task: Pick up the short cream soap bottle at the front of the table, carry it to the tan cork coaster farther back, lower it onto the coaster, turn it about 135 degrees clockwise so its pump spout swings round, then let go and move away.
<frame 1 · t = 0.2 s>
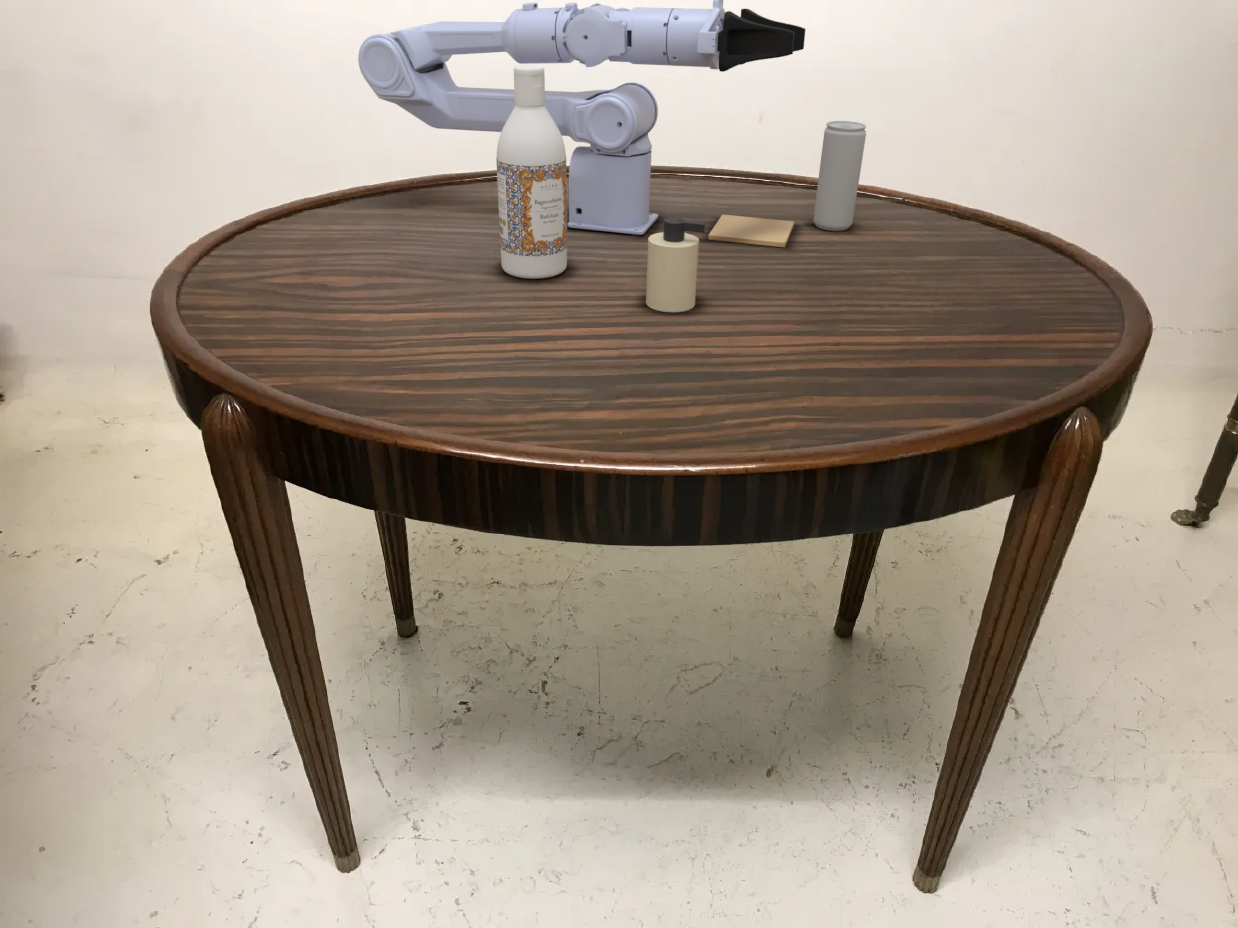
hand: (799, 41, 98), 22 cm above the table, tool horizontal, fingers open, 7 cm apart
coaster: (752, 232, 112), on the table
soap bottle: (670, 303, 91), on the table
beverage can: (831, 228, 115), on the table
bath foam: (534, 271, 99), on the table
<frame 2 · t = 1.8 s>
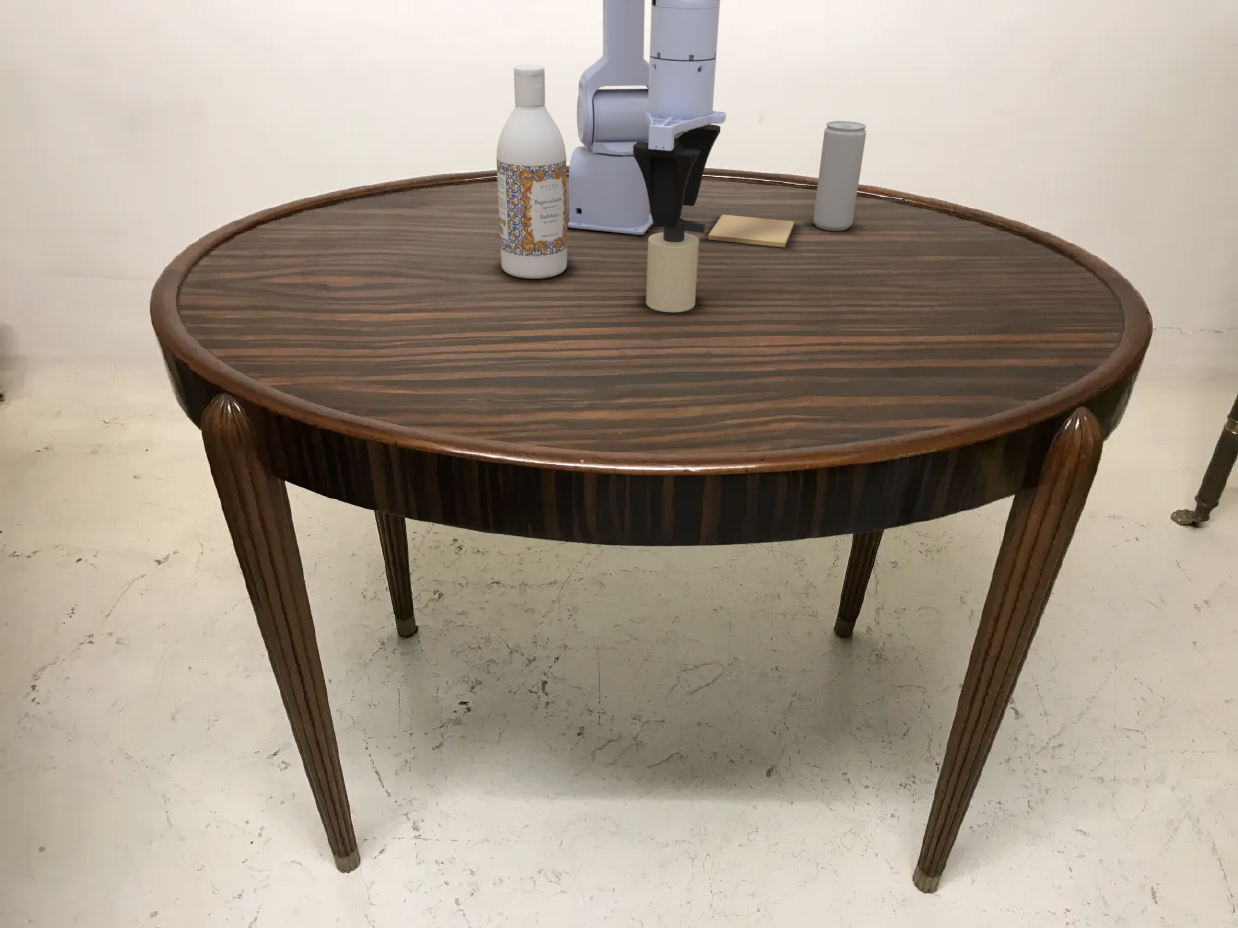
hand: (674, 215, 87), 9 cm above the table, tool pointing down, fingers open, 7 cm apart
nothing on the table moved.
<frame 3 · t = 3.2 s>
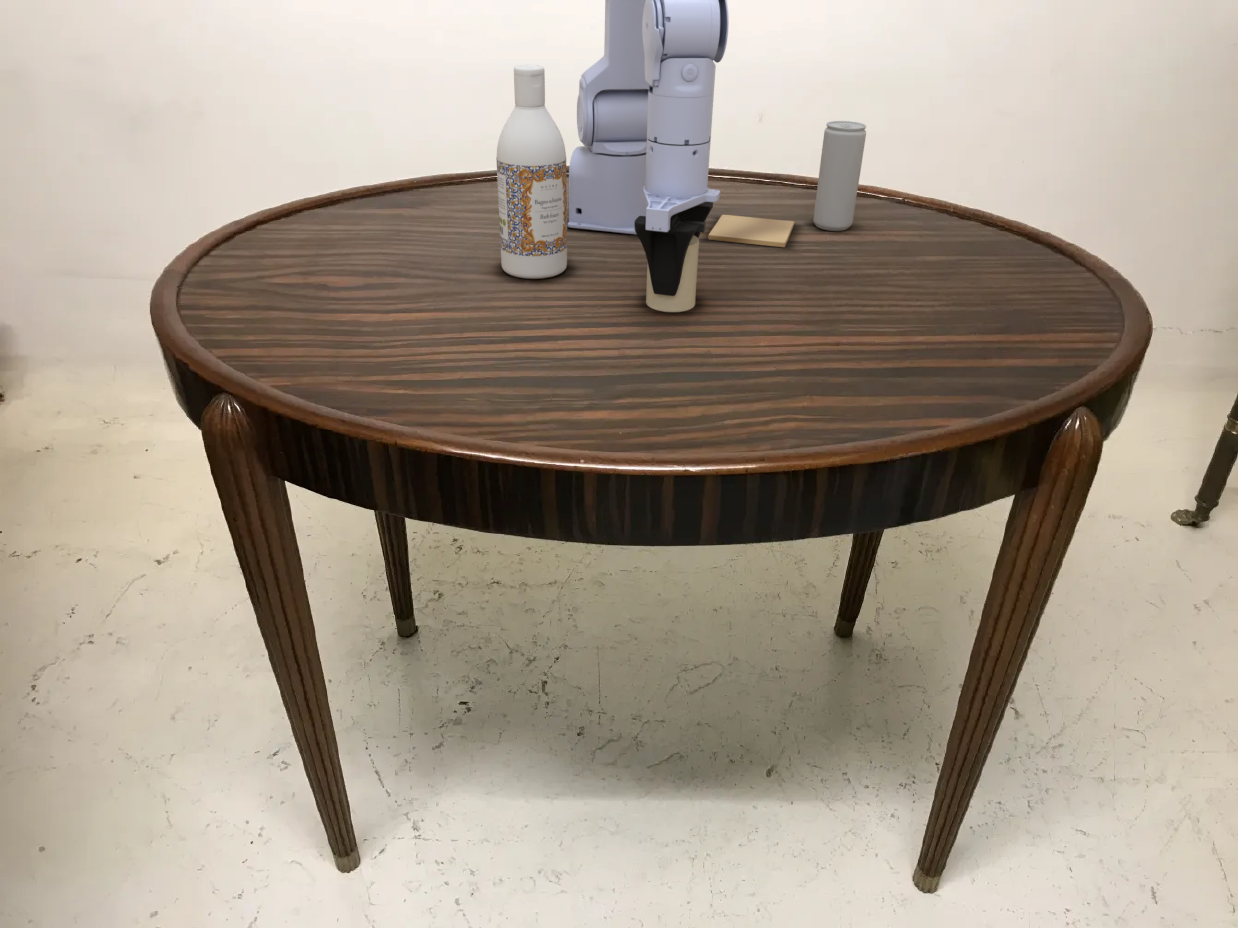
hand: (671, 284, 90), 2 cm above the table, tool pointing down, fingers closed on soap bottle, 5 cm apart
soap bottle: (670, 303, 91), on the table, touching gripper
everything else where it was.
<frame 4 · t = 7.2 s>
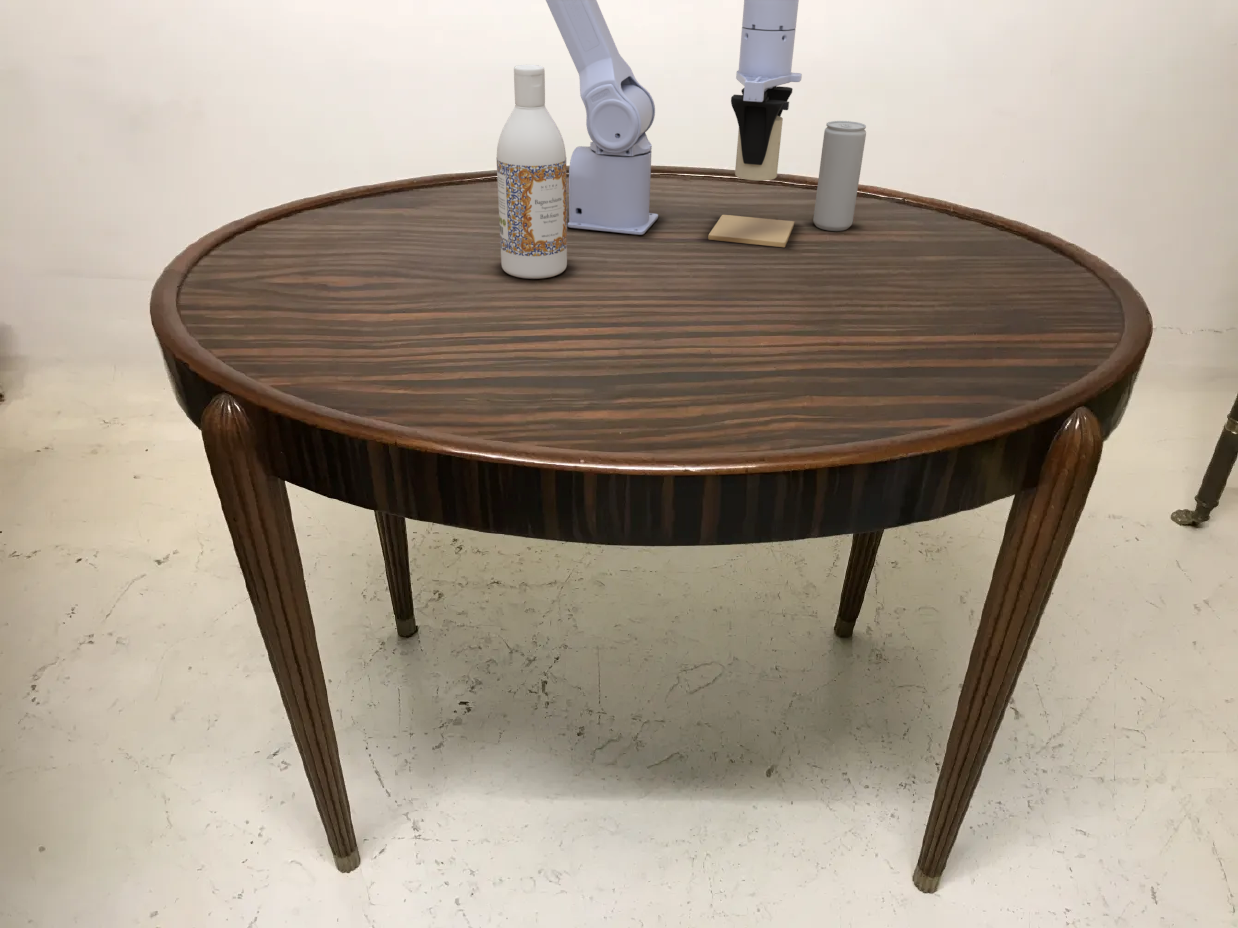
hand: (756, 158, 106), 9 cm above the table, tool pointing down, fingers closed on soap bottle, 5 cm apart
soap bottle: (755, 175, 107), point 7 cm above the table, touching gripper
everything else where it was.
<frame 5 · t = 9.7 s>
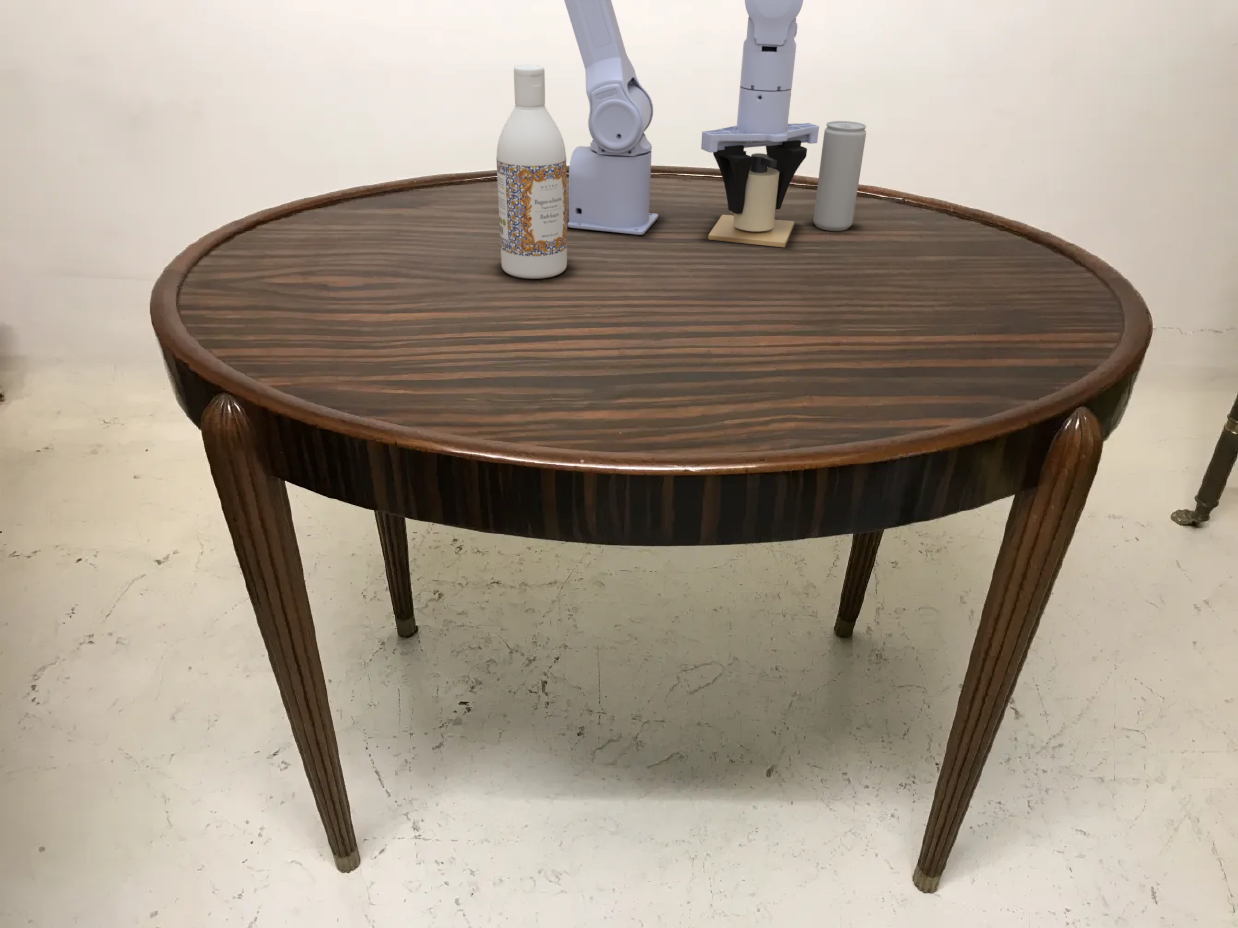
hand: (754, 209, 110), 3 cm above the table, tool pointing down, fingers closed on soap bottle, 5 cm apart
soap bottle: (753, 225, 111), point 1 cm above the table, touching gripper
everything else where it was.
when the fingers open (2 cm above the table, at t = 11.4 s): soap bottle stays where it is, resting on coaster.
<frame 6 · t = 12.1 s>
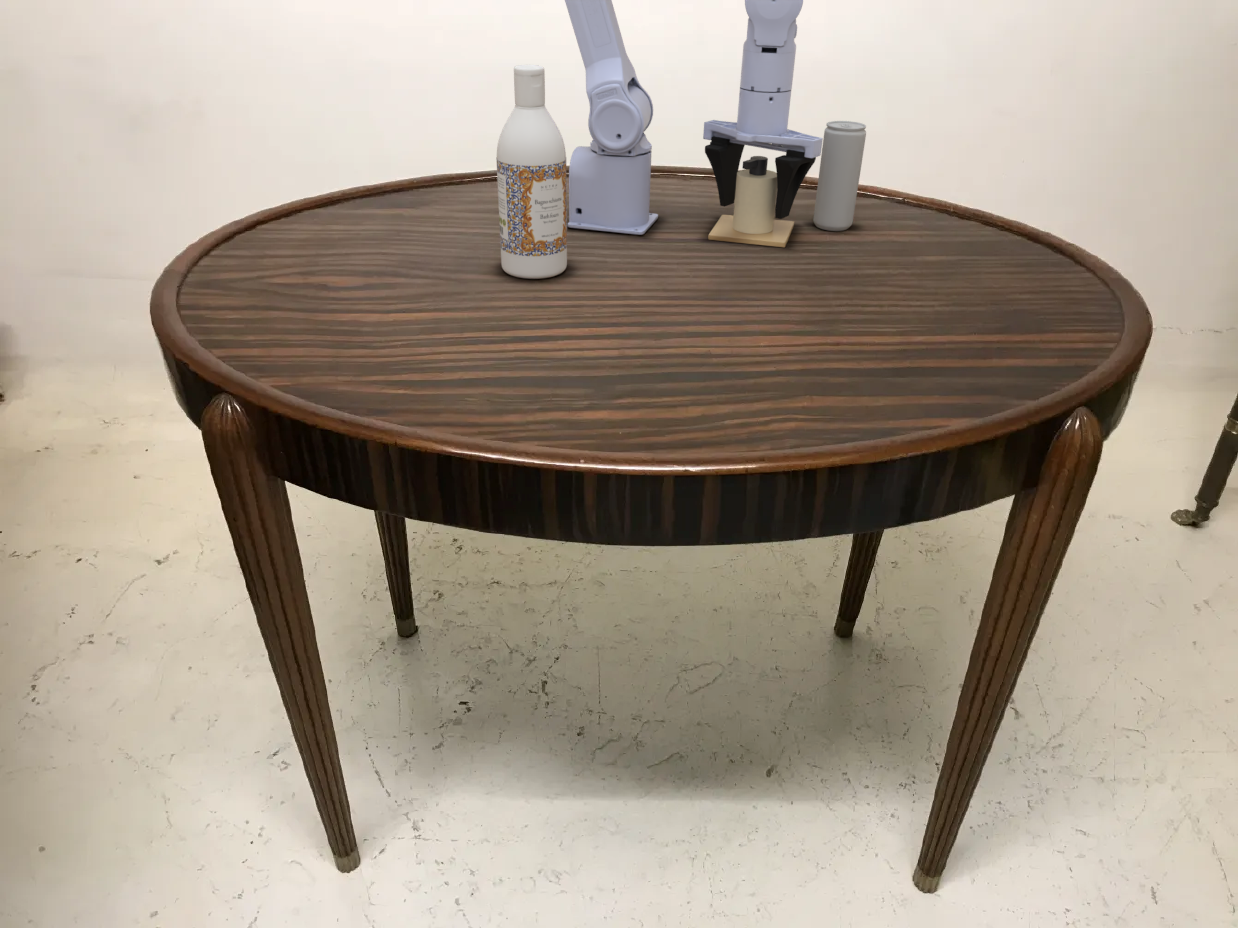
hand: (754, 210, 110), 3 cm above the table, tool pointing down, fingers open, 7 cm apart
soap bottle: (752, 228, 111), point 1 cm above the table, touching coaster
everything else where it was.
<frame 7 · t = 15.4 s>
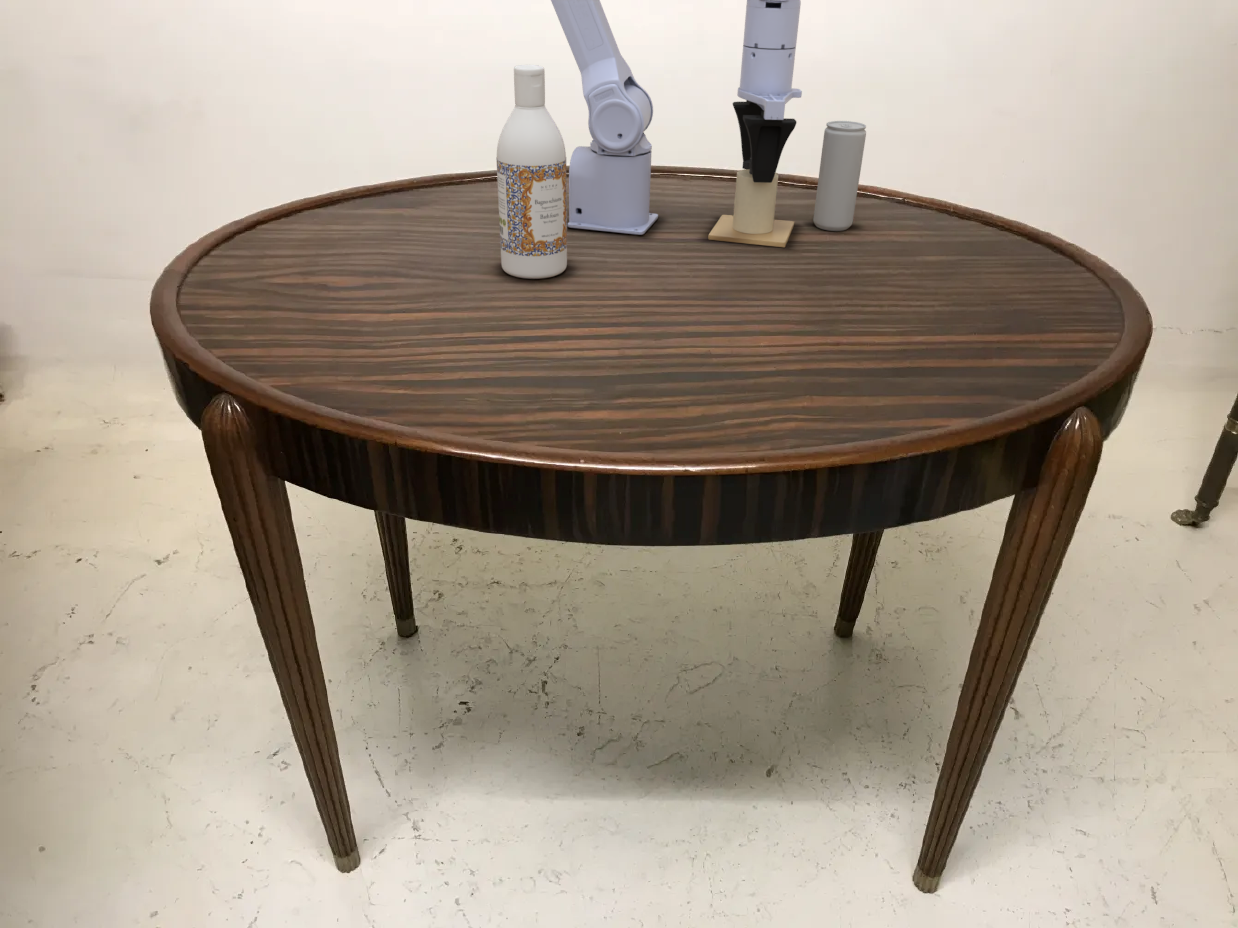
hand: (757, 173, 108), 7 cm above the table, tool pointing down, fingers open, 7 cm apart
nothing on the table moved.
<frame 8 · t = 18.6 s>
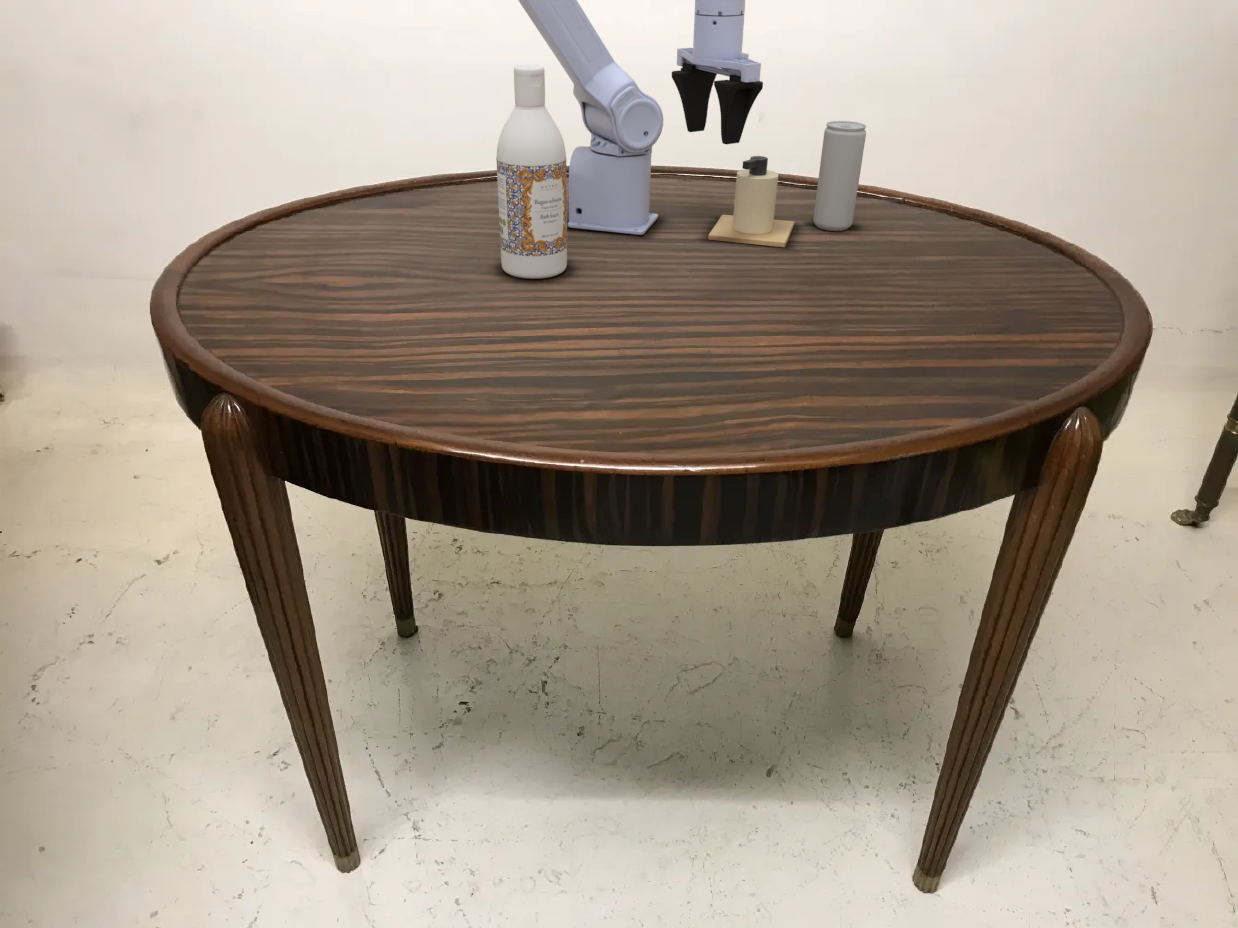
hand: (712, 137, 114), 9 cm above the table, tool pointing down, fingers open, 7 cm apart
nothing on the table moved.
at the end: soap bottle 0.1 cm off-centre on the coaster, point 0.6 cm above the coaster's base; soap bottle tilted 0°; the gripper is holding nothing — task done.
